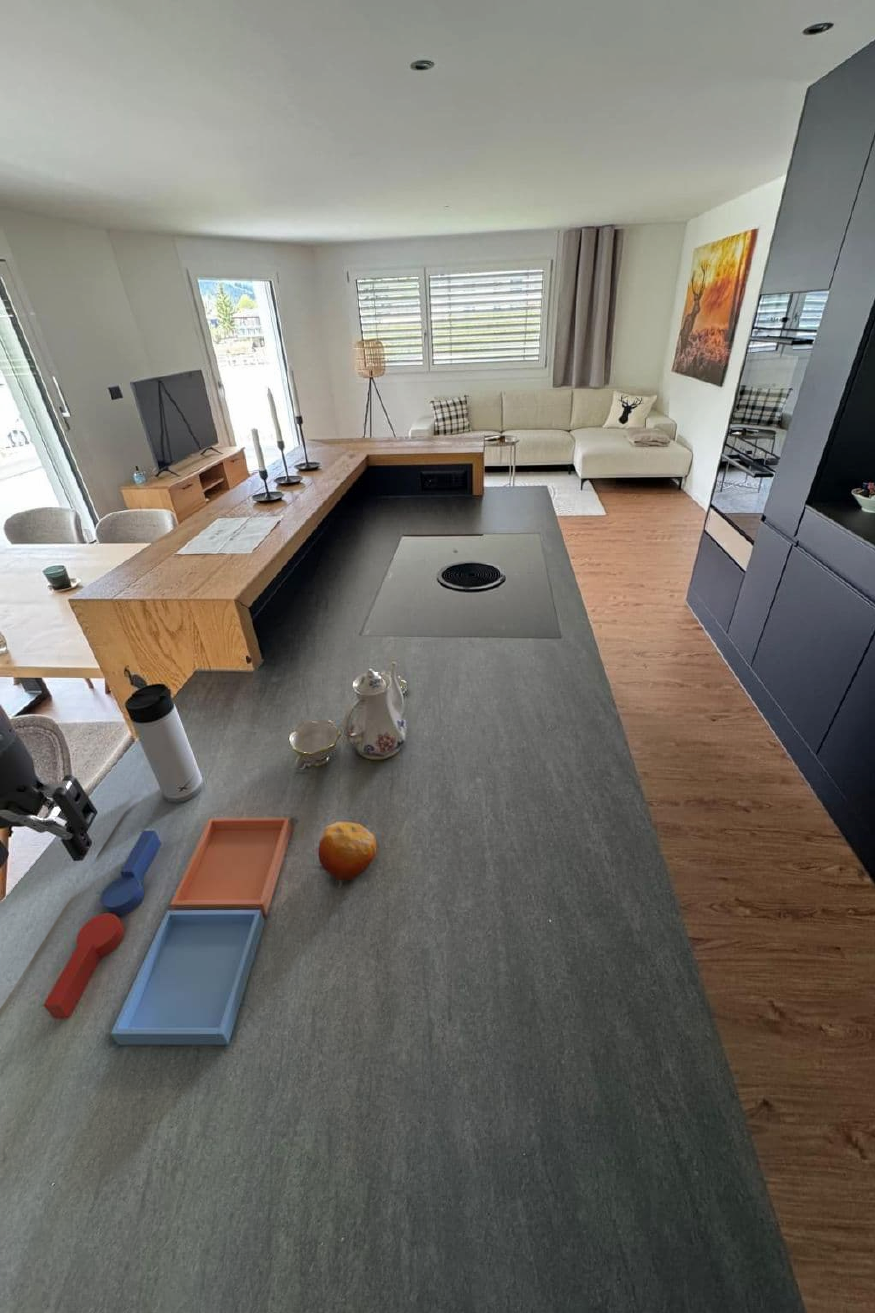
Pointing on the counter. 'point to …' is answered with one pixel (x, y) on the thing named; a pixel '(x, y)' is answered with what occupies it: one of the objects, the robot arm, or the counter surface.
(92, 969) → the red spoon
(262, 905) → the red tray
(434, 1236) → the counter surface
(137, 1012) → the blue tray
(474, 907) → the counter surface
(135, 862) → the blue spoon
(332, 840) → the fruit
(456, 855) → the counter surface
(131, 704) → the travel mug
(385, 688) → the chinaware
